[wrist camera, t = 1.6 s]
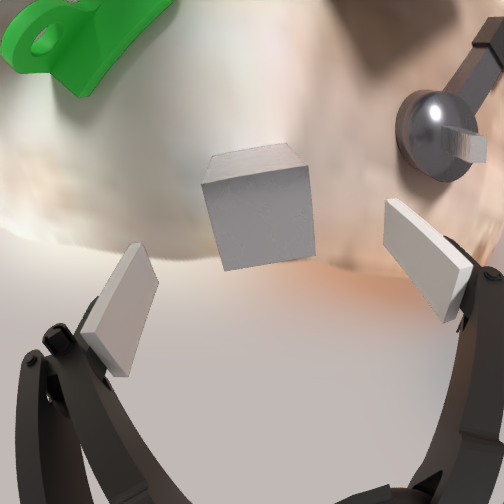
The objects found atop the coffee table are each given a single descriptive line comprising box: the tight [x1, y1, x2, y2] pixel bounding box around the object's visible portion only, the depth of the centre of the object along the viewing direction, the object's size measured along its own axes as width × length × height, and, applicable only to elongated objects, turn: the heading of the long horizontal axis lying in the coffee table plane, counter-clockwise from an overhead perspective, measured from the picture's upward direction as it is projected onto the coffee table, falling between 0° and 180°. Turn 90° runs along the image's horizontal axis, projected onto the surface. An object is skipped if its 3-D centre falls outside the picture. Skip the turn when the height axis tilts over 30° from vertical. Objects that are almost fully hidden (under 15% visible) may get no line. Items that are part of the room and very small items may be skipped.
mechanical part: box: [0, 0, 173, 97], centre depth 10 cm, size 12×6×8 cm, turn 134°
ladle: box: [396, 17, 504, 182], centre depth 13 cm, size 8×22×6 cm, turn 145°
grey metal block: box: [201, 143, 316, 271], centre depth 18 cm, size 6×6×7 cm
